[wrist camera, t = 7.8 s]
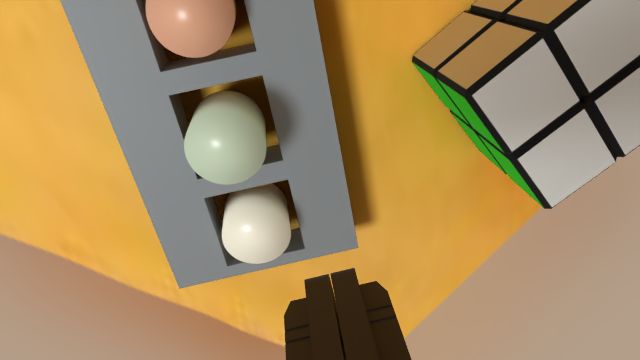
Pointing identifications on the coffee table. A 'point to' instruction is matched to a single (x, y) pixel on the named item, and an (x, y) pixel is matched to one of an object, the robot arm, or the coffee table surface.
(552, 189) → the puzzle cube
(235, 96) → the button sage
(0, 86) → the coffee table surface
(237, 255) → the button cream
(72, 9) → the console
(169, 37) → the button terracotta
